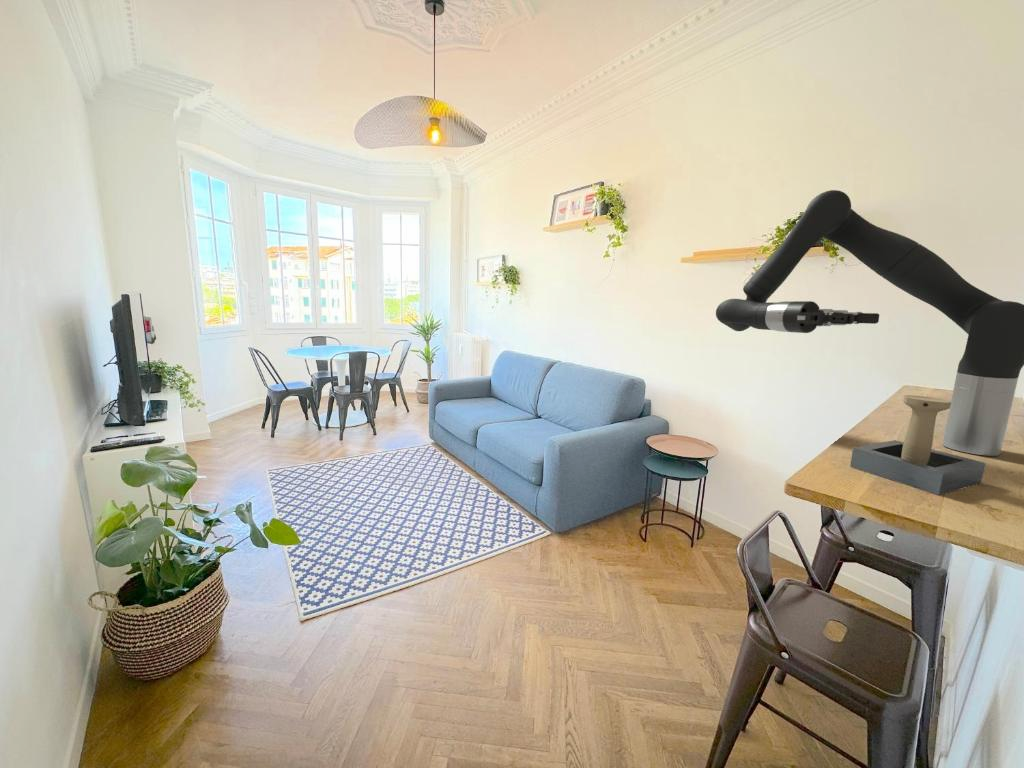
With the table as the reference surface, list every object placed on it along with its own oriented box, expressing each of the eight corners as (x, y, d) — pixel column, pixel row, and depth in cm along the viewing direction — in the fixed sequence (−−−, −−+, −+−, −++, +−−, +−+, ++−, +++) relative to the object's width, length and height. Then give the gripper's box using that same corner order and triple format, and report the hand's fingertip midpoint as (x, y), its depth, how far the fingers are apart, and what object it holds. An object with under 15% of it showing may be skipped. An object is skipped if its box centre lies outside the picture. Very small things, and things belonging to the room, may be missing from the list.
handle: (933, 482, 79) (951, 403, 77) (888, 472, 84) (903, 397, 81) (934, 476, 83) (951, 400, 80) (891, 466, 87) (905, 394, 84)
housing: (891, 458, 92) (894, 440, 91) (980, 483, 79) (985, 462, 79) (850, 466, 87) (853, 447, 86) (938, 495, 74) (943, 473, 73)
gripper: (773, 301, 103) (847, 300, 88) (812, 301, 108) (888, 300, 93) (769, 332, 104) (841, 337, 89) (809, 331, 110) (883, 335, 95)
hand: (865, 318), depth 91 cm, fingers open, 8 cm apart
